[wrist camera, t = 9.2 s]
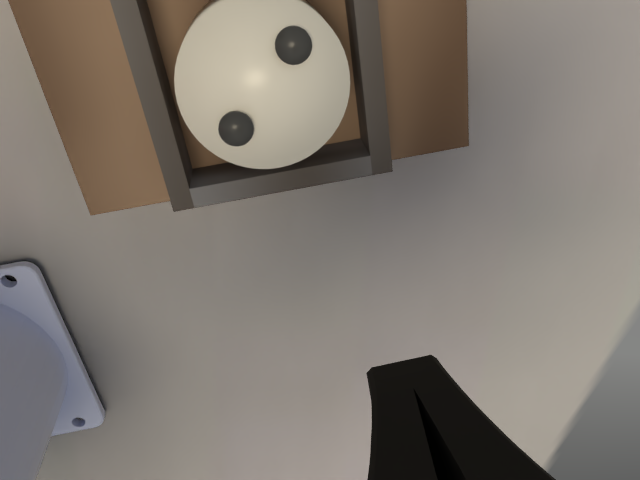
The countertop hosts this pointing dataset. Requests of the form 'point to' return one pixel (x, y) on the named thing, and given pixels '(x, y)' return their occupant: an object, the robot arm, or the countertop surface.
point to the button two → (261, 81)
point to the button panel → (174, 135)
